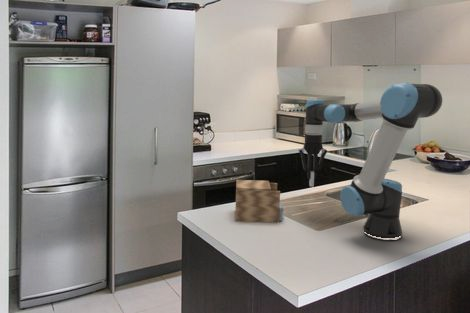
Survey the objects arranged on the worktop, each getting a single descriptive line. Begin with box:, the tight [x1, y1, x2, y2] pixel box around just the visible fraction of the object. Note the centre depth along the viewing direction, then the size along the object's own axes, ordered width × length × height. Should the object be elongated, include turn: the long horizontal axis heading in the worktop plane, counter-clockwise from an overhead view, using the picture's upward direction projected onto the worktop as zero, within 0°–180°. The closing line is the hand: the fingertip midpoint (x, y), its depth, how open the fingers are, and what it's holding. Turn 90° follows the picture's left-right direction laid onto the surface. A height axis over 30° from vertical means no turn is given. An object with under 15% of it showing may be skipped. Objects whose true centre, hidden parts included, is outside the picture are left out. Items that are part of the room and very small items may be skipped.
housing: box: [234, 179, 281, 223], centre depth 191 cm, size 19×15×15 cm
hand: (311, 185), depth 192 cm, fingers closed
